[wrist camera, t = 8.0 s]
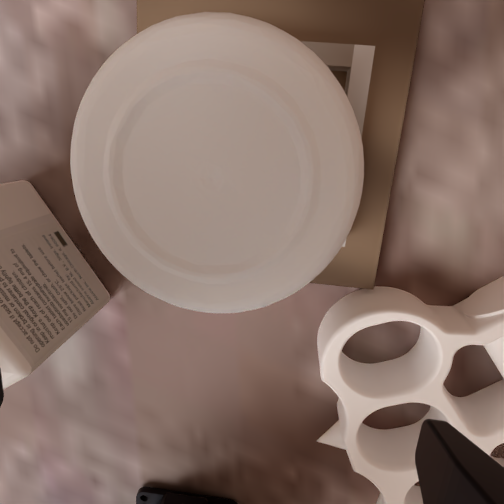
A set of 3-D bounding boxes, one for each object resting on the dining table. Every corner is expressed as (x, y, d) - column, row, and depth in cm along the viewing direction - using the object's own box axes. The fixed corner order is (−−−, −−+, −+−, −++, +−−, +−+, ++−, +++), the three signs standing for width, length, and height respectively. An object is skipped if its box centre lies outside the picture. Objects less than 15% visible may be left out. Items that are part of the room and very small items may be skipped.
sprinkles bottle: (246, 211, 20) (155, 363, 7) (200, 123, 19) (-3, 109, 6) (333, 168, 19) (420, 251, 6) (290, 73, 18) (281, -76, 5)
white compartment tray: (653, 464, 23) (415, 555, 26) (505, 199, 20) (256, 343, 23) (712, 519, 20) (431, 614, 23) (547, 212, 16) (250, 377, 20)
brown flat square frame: (370, 283, 21) (379, 300, 19) (143, 259, 22) (127, 273, 20) (420, -4, 17) (438, -22, 15) (143, -19, 18) (123, -39, 16)
